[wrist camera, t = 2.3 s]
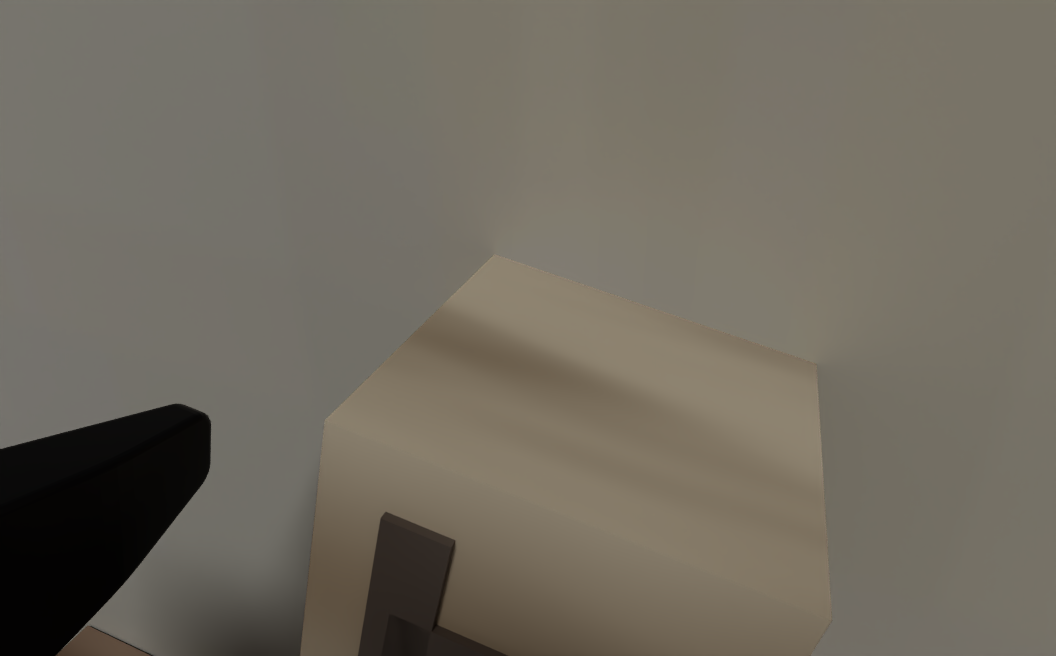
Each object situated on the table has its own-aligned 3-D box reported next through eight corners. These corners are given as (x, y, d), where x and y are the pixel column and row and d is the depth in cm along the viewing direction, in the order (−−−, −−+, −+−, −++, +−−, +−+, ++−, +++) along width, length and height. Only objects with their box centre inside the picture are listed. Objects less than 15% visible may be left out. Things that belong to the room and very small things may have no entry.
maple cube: (702, 595, 12) (659, 906, 8) (444, 491, 13) (287, 729, 9) (815, 361, 10) (832, 630, 6) (496, 252, 11) (318, 426, 7)
